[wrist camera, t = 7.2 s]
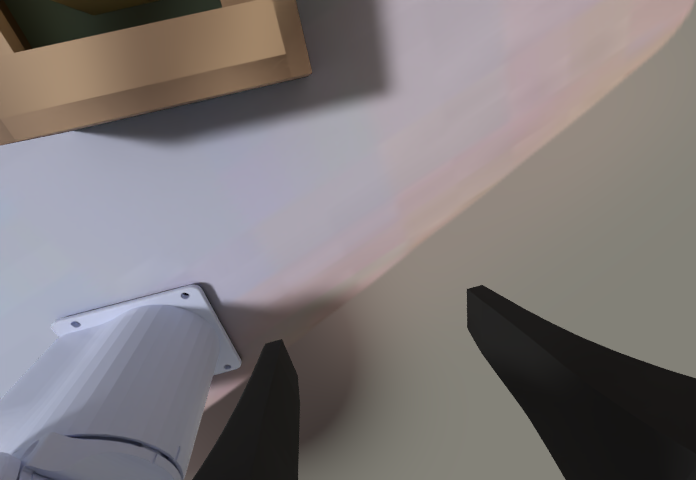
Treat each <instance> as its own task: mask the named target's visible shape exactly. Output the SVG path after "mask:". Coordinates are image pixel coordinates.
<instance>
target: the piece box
mask: <svg viewBox="0 0 696 480" xmlns="http://www.w3.org/2000/svg"><path fill="white" fill-rule="evenodd" d="M310 74H312V69H311V65H310V61H309V56H308V52H307V48H306V43H305V39H304V34H303V30H302V26H301V21H300V17H299V12H298V8H297V4H296V0H159V1H155V2H150V3H146V4H142V5H137V6H133V7H129V8H124V9H120V10H116V11H111V12H107V13H103V14H98V15H91V14H88V13H85V12H83V11H80V10H77V9H74V8H71V7H68V6H66V5H63V4H60V3H57V2H54V1H51V0H0V145H5V144H10V143H15V142H20V141H25V140H30V139H35V138H40V137H45V136H50V135H54V134H59V133H64V132H69V131H74V130H78V129H83V128H87V127H91V126H96V125H100V124H104V123H109V122H113V121H117V120H122V119H126V118H130V117H135V116H139V115H143V114H147V113H152V112H156V111H160V110H165V109H169V108H173V107H178V106H182V105H186V104H191V103H195V102H199V101H204V100H208V99H212V98H217V97H221V96H225V95H230V94H234V93H238V92H243V91H247V90H251V89H256V88H260V87H264V86H268V85H273V84H277V83H281V82H286V81H290V80H294V79H299V78H303V77H307V76H309V75H310Z"/></svg>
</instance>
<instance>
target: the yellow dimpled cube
mask: <svg viewBox="0 0 696 480" xmlns="http://www.w3.org/2000/svg"><path fill="white" fill-rule="evenodd" d="M51 1H54V2H57V3H60V4H63V5H66V6H68V7H71V8H74V9H77V10H80V11H83V12H85V13H88V14H91V15H98V14H103V13H107V12H111V11H116V10H120V9H124V8H129V7H133V6H137V5H142V4H146V3H150V2H155V1H159V0H51Z"/></svg>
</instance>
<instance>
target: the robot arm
mask: <svg viewBox="0 0 696 480" xmlns="http://www.w3.org/2000/svg"><path fill="white" fill-rule="evenodd" d="M183 293H188V294H189V295H184V294H183ZM76 321H77V322H79V323H77V322H76ZM467 328H468V330H469V332H470V333H471V335H472V337H473V339H474V341H475V342H476V344H477V346H478V348H479V349H480V351H481V353H482V354H483V356H484V357H485V358H486V360H487V361H488V362H489V364H490V365H491V367H492V368H493V369H494V371H495V372H496V373H497V375H498V376H499V377H500V379H501V380H502V381H503V383H504V384H505V386H506V387H507V388H508V390H509V391H510V392H511V393H512V395H513V396H514V398H515V399H516V401H517V402H518V403H519V405H520V406H521V407H522V409H523V410H524V412H525V413H526V415H527V416H528V418H529V419H530V421H531V422H532V424H533V426H534V427H535V429H536V430H537V432H538V433H539V435H540V437H541V439H542V440H543V442H544V444H545V445H546V447H547V449H548V450H549V452H550V454H551V455H552V457H553V459H554V460H555V462H556V464H557V466H558V467H559V469H560V470H561V472H562V474H563V476H564V477H565V479H566V480H696V378H693V377H689V376H686V375H683V374H679V373H676V372H673V371H670V370H666V369H664V368H660V367H658V366H655V365H652V364H649V363H646V362H644V361H640V360H638V359H635V358H632V357H629V356H627V355H624V354H621V353H619V352H616V351H613V350H611V349H609V348H606V347H604V346H601V345H599V344H596V343H594V342H592V341H589V340H586V339H584V338H582V337H580V336H578V335H575V334H573V333H571V332H569V331H567V330H565V329H563V328H561V327H559V326H557V325H555V324H552V323H551V322H549V321H546V320H544V319H543V318H541V317H539V316H537V315H535V314H533V313H531V312H529V311H527V310H526V309H523V308H522V307H520V306H518V305H517V304H515V303H513V302H511V301H510V300H508V299H506V298H504V297H502V296H501V295H499V294H497V293H495V292H494V291H492V290H490V289H488V288H487V287H485V286H483V285H480V286H477V287H473V288H470V289H467ZM51 329H52V330H53V331H54V332H55V334H56V335H57V336H58V338H57V339H56V340H55V341H54V342H53V344H52V345H51V346H50V347H49V348H48V349H47V350H46V351H45V352H44V353H43V354H42V355H41V356H40V357H39V358H38V360H37V361H36V362H35V363H34V364H33V365H32V366H31V367H30V368H29V369H28V370H27V371H26V372H25V373H24V374H23V376H22V377H21V378H20V379H19V380H18V381H17V382H16V383H15V384H14V385H13V386H12V387H11V388H10V389H9V390H8V391H7V393H6V394H5V395H4V396H3V397H2V398H1V399H0V480H184V478H185V474H186V471H187V467H188V464H189V460H190V457H191V453H192V449H193V446H194V442H195V439H196V435H197V431H198V428H199V424H200V421H201V417H202V414H203V410H204V407H205V403H206V399H207V396H208V392H209V389H210V385H211V382H212V378H213V375H217V374H221V373H224V372H228V371H232V370H235V369H238V368H239V367H240V366H241V359H240V357H239V355H238V353H237V352H236V350H235V348H234V346H233V344H232V343H231V341H230V339H229V337H228V335H227V333H226V332H225V330H224V328H223V326H222V324H221V323H220V321H219V319H218V317H217V315H216V314H215V312H214V310H213V308H212V306H211V304H210V303H209V301H208V299H207V297H206V295H205V294H204V292H203V290H202V288H201V287H200V286H198V285H188V286H184V287H180V288H177V289H173V290H169V291H165V292H161V293H157V294H153V295H149V296H146V297H142V298H138V299H134V300H130V301H126V302H122V303H119V304H115V305H111V306H107V307H103V308H99V309H95V310H92V311H88V312H84V313H80V314H76V315H72V316H68V317H65V318H61V319H58V320H56V321H55V322H54V323H53V324H52V325H51ZM299 414H300V399H299V387H298V376H297V373H296V371H295V368H294V366H293V364H292V361H291V359H290V357H289V355H288V352H287V350H286V348H285V345H284V343H283V341H282V339H281V340H278V341H274V342H270V343H267V344H265V346H264V348H263V350H262V352H261V355H260V357H259V359H258V362H257V364H256V366H255V368H254V371H253V373H252V375H251V377H250V379H249V382H248V384H247V386H246V388H245V390H244V392H243V394H242V396H241V398H240V400H239V402H238V404H237V406H236V408H235V410H234V412H233V414H232V415H231V417H230V419H229V421H228V423H227V425H226V426H225V428H224V430H223V432H222V434H221V435H220V437H219V439H218V440H217V442H216V444H215V445H214V447H213V449H212V450H211V452H210V453H209V455H208V457H207V458H206V460H205V461H204V463H203V465H202V466H201V468H200V469H199V471H198V472H197V473H196V475H195V477H194V478H193V479H192V480H298V453H299V452H298V451H299V450H298V449H299Z"/></svg>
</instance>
